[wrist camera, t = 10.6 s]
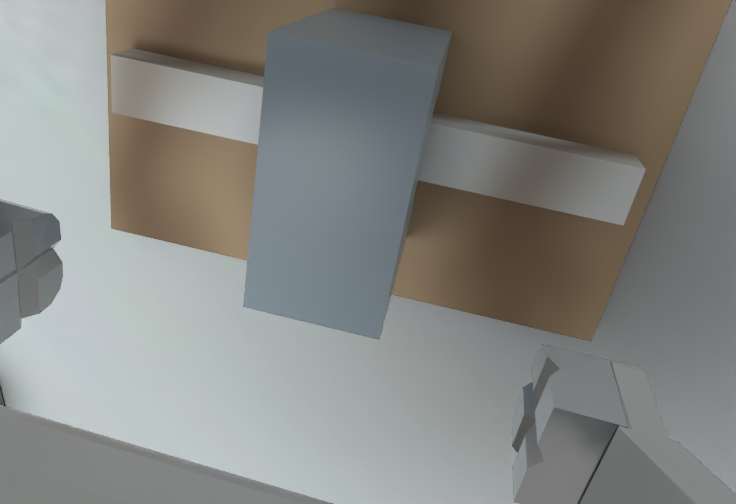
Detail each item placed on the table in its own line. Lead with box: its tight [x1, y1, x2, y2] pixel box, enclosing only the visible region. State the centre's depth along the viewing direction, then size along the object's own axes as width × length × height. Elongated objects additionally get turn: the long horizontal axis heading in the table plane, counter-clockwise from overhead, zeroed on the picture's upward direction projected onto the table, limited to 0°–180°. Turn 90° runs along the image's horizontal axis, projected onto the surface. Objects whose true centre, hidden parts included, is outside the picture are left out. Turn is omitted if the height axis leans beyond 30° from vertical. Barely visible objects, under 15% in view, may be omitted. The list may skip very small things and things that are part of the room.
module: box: [243, 8, 452, 339], centre depth 19 cm, size 4×8×7 cm, turn 170°
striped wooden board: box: [106, 0, 732, 341], centre depth 22 cm, size 20×13×2 cm, turn 80°
